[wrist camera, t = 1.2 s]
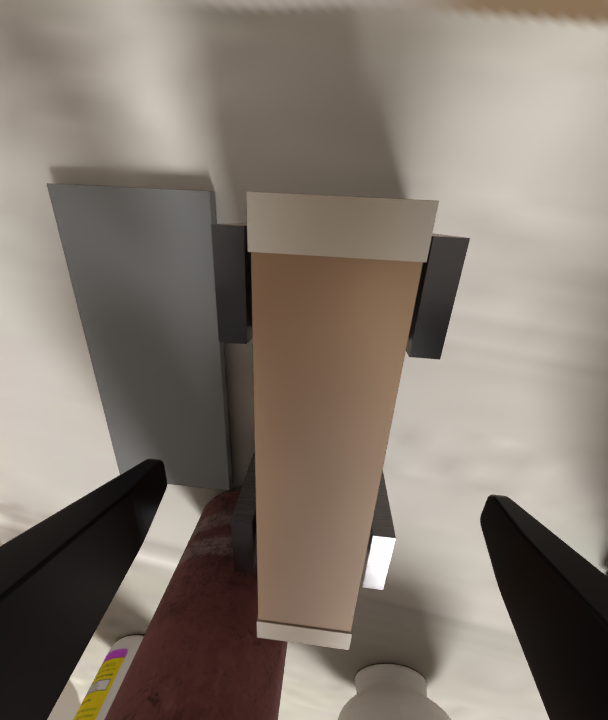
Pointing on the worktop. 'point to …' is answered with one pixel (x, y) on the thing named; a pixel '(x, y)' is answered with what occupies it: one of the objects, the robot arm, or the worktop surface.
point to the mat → (151, 323)
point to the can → (205, 639)
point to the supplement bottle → (109, 679)
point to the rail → (325, 392)
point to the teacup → (391, 696)
